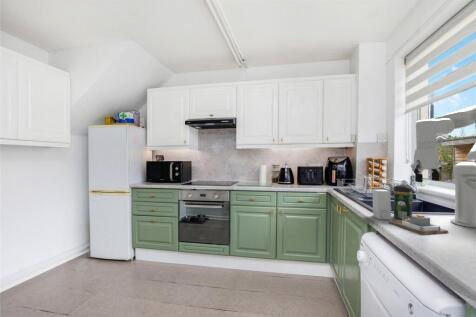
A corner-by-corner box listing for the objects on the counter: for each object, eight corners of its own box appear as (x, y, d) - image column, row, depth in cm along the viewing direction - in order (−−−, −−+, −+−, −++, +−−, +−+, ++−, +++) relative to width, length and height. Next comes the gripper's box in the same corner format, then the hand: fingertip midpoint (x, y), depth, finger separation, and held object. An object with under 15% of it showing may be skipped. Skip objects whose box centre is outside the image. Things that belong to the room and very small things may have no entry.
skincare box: (391, 220, 123) (391, 191, 123) (377, 219, 124) (378, 190, 124) (384, 216, 131) (384, 189, 131) (371, 215, 132) (372, 188, 132)
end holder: (419, 223, 113) (419, 220, 113) (440, 230, 103) (440, 226, 103) (401, 224, 111) (401, 221, 111) (421, 231, 101) (421, 227, 101)
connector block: (419, 225, 110) (419, 213, 110) (430, 228, 105) (430, 216, 105) (410, 226, 109) (411, 214, 109) (420, 229, 104) (421, 216, 104)
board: (411, 221, 121) (411, 214, 120) (448, 232, 103) (448, 225, 103) (388, 222, 118) (388, 215, 118) (422, 234, 100) (422, 226, 100)
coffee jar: (396, 214, 134) (397, 183, 134) (413, 217, 128) (414, 184, 128) (391, 217, 128) (392, 184, 127) (408, 221, 122) (409, 186, 121)
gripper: (432, 145, 115) (433, 179, 115) (404, 146, 112) (405, 181, 112) (449, 144, 108) (450, 180, 108) (419, 146, 104) (420, 183, 105)
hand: (427, 181), depth 110 cm, fingers open, 9 cm apart
